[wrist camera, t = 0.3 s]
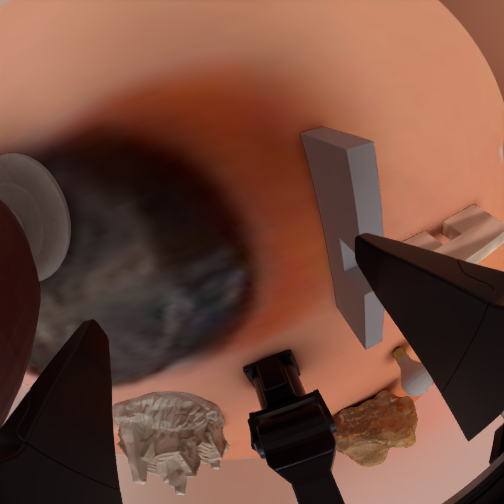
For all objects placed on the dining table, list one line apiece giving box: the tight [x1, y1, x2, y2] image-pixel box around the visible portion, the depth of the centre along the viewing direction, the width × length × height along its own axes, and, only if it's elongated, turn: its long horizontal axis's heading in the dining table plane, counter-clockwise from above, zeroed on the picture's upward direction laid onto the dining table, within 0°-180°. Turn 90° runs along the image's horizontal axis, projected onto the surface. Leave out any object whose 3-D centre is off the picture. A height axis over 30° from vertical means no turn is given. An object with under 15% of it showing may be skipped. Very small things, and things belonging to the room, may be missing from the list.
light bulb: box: [393, 348, 433, 396], centre depth 37 cm, size 6×6×10 cm
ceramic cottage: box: [112, 392, 230, 495], centre depth 31 cm, size 16×16×15 cm
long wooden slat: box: [403, 204, 504, 264], centre depth 27 cm, size 2×18×7 cm, turn 107°
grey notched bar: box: [300, 127, 384, 350], centre depth 23 cm, size 20×2×7 cm, turn 18°
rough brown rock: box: [333, 390, 418, 467], centre depth 46 cm, size 23×17×15 cm
